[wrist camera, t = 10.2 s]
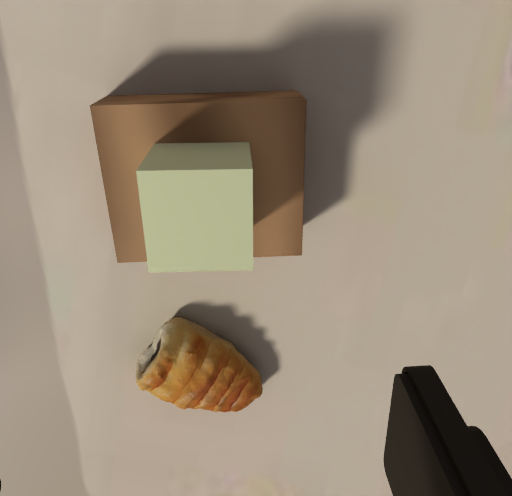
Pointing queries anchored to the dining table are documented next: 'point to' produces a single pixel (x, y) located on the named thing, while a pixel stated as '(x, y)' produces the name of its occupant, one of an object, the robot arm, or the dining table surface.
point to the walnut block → (207, 131)
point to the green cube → (197, 206)
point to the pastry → (197, 369)
